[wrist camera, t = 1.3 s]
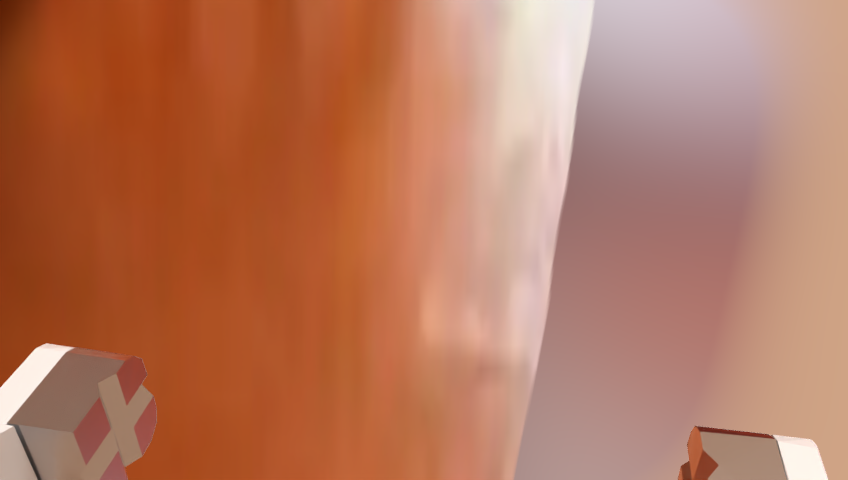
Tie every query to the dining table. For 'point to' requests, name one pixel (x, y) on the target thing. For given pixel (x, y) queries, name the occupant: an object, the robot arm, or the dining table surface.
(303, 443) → the dining table surface
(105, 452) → the robot arm
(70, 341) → the dining table surface
